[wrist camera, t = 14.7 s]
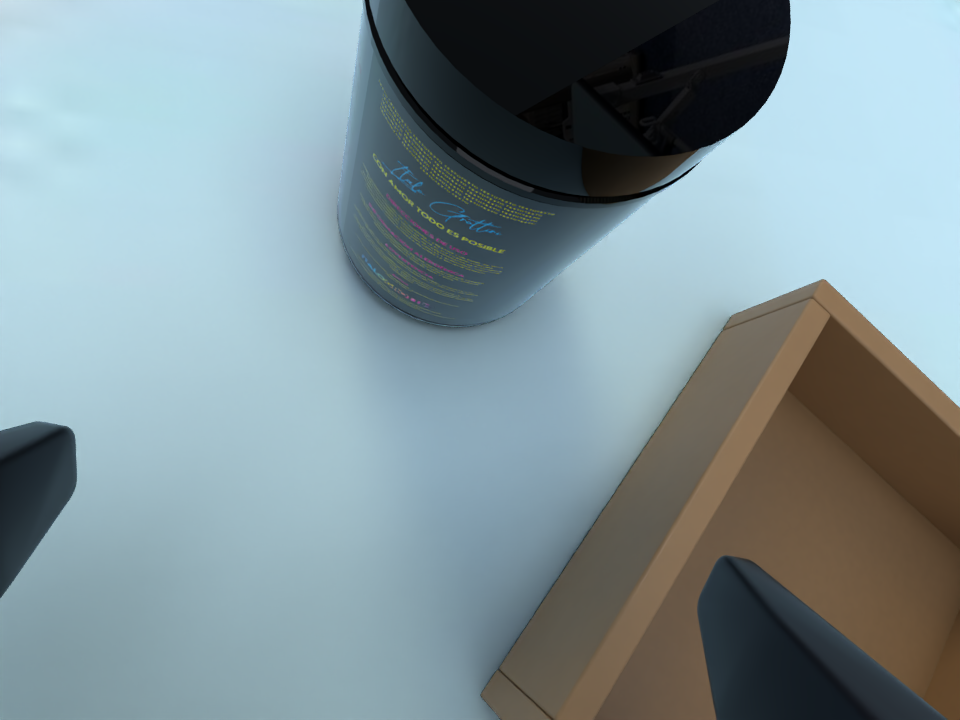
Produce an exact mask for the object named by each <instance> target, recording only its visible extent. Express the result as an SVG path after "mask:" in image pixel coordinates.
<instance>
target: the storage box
mask: <svg viewBox="0 0 960 720" xmlns="http://www.w3.org/2000/svg"><path fill="white" fill-rule="evenodd" d="M724 555H729V556H735V557H740V558H745V559H749V560H751V561H753V562H755V563H756V564H757V565H758V566H760V567H761V568H762V569H763V570H764V571H766V572H767V573H768V574H769V575H771V576H772V577H773V578H774V579H776V580H777V581H778V582H779V583H780V584H782V585H783V586H784V587H785V588H787V589H788V590H789V591H790V592H792V593H793V594H794V595H795V596H796V597H798V598H799V599H800V600H801V601H803V602H804V603H805V604H806V605H808V606H809V607H810V608H811V609H812V610H814V611H815V612H816V613H817V614H819V615H820V616H821V617H822V618H824V619H825V620H826V621H827V622H828V623H830V624H831V625H832V626H833V627H835V628H836V629H837V630H838V631H839V632H841V633H842V634H843V635H844V636H846V637H847V638H848V639H849V640H851V641H852V642H853V643H854V644H855V645H857V646H858V647H859V648H860V649H862V650H863V651H864V652H865V653H867V654H868V655H869V656H870V657H871V658H873V659H874V660H875V661H876V662H878V663H879V664H880V665H881V666H883V667H884V668H885V669H886V670H887V671H889V672H890V673H891V674H892V675H894V676H895V677H896V678H897V679H899V680H900V681H901V682H902V683H903V684H905V685H906V686H907V687H908V688H910V689H911V690H912V691H913V692H915V693H916V694H917V695H918V696H919V697H921V698H922V699H923V700H924V701H926V702H927V703H928V704H929V705H931V706H932V707H933V708H934V709H935V710H937V711H938V712H939V713H940V714H942V715H943V716H944V717H945V718H947V719H948V720H960V408H959V407H958V406H957V405H956V404H955V403H954V402H953V401H952V400H951V399H950V398H949V397H948V396H947V395H946V394H945V393H944V392H943V391H942V390H940V389H939V388H938V387H937V386H936V385H935V384H934V383H933V382H932V381H931V380H930V379H929V378H928V377H927V376H926V375H925V374H924V373H923V372H922V371H921V370H920V369H918V368H917V367H916V366H915V365H914V364H913V363H912V362H911V361H910V360H909V359H908V358H907V357H906V356H905V355H904V354H903V353H902V352H901V351H900V350H899V349H897V348H896V347H895V346H894V345H893V344H892V343H891V342H890V341H889V340H888V339H887V338H886V337H885V336H884V335H883V334H882V333H881V332H880V331H879V330H878V329H877V328H875V327H874V326H873V325H872V324H871V323H870V322H869V321H868V320H867V319H866V318H865V317H864V316H863V315H862V314H861V313H860V312H859V311H858V310H857V309H856V308H855V307H853V306H852V305H851V304H850V303H849V302H848V301H847V300H846V299H845V298H844V297H843V296H842V295H841V294H840V293H839V292H838V291H837V290H836V289H835V288H834V287H832V286H831V285H830V284H829V283H828V282H827V281H826V280H824V279H822V280H819V281H817V282H814V283H812V284H809V285H807V286H804V287H802V288H799V289H797V290H794V291H792V292H789V293H787V294H784V295H782V296H779V297H777V298H774V299H772V300H769V301H767V302H764V303H762V304H759V305H757V306H754V307H752V308H749V309H747V310H744V311H742V312H739V313H736V314H734V315H732V316H731V318H730V320H729V321H728V323H727V324H726V326H725V327H724V329H723V331H722V332H721V333H720V335H719V336H718V338H717V339H716V341H715V342H714V344H713V345H712V347H711V348H710V350H709V351H708V353H707V354H706V356H705V357H704V359H703V360H702V362H701V363H700V365H699V366H698V368H697V369H696V371H695V372H694V374H693V375H692V377H691V378H690V380H689V381H688V383H687V385H686V386H685V388H684V389H683V391H682V392H681V394H680V395H679V397H678V398H677V400H676V401H675V403H674V404H673V406H672V407H671V409H670V410H669V412H668V413H667V415H666V416H665V418H664V419H663V421H662V422H661V424H660V425H659V427H658V428H657V430H656V431H655V433H654V434H653V436H652V437H651V439H650V440H649V442H648V443H647V445H646V446H645V448H644V449H643V451H642V452H641V454H640V456H639V457H638V459H637V460H636V462H635V463H634V465H633V466H632V468H631V469H630V471H629V472H628V474H627V475H626V477H625V478H624V480H623V481H622V483H621V484H620V486H619V487H618V489H617V490H616V492H615V493H614V495H613V496H612V498H611V499H610V501H609V502H608V504H607V505H606V507H605V508H604V510H603V511H602V513H601V514H600V516H599V517H598V519H597V520H596V522H595V523H594V525H593V527H592V528H591V530H590V531H589V533H588V534H587V536H586V537H585V539H584V540H583V542H582V543H581V545H580V546H579V548H578V549H577V551H576V552H575V554H574V555H573V557H572V558H571V560H570V561H569V563H568V564H567V566H566V567H565V569H564V570H563V572H562V573H561V575H560V576H559V578H558V579H557V581H556V582H555V584H554V585H553V587H552V588H551V590H550V591H549V593H548V594H547V596H546V598H545V599H544V601H543V602H542V604H541V605H540V607H539V608H538V610H537V611H536V613H535V614H534V616H533V617H532V619H531V620H530V622H529V623H528V625H527V626H526V628H525V629H524V631H523V632H522V634H521V635H520V637H519V638H518V640H517V641H516V643H515V644H514V646H513V647H512V649H511V650H510V652H509V653H508V655H507V656H506V658H505V659H504V661H503V662H502V664H501V666H500V668H499V670H500V671H499V670H497V671H496V672H495V673H494V675H493V676H492V678H491V679H490V681H489V683H488V684H487V686H486V687H485V689H484V690H483V692H482V693H481V697H482V698H483V700H484V701H485V702H486V703H487V704H488V705H489V707H490V708H491V709H492V710H493V711H494V712H495V714H496V715H497V716H498V717H499V718H500V719H501V720H717V719H716V714H715V709H714V705H713V699H712V694H711V688H710V682H709V677H708V671H707V665H706V660H705V654H704V648H703V643H702V637H701V631H700V626H699V620H698V613H697V605H698V600H699V596H700V594H701V592H702V590H703V588H704V586H705V583H706V581H707V579H708V577H709V575H710V573H711V571H712V569H713V567H714V565H715V563H716V561H717V560H718V559H719V558H720V557H721V556H724Z"/></svg>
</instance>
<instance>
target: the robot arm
mask: <svg viewBox="0 0 960 720" xmlns="http://www.w3.org/2000/svg"><path fill="white" fill-rule="evenodd" d="M76 482H77V466H76V444H75V435H74V433H73V431H72V430H71V429H70V428H69V427H67V426H62V425H57V424H52V423H47V422H32V423H28V424H24V425H21V426H17V427H13V428H10V429H6V430H2V431H0V598H1V597H2V596H3V594H4V593H5V591H6V590H7V589H8V587H9V586H10V585H11V583H12V582H13V581H14V579H15V578H16V576H17V575H18V573H19V572H20V570H21V569H22V568H23V566H24V565H25V563H26V562H27V560H28V559H29V557H30V556H31V555H32V553H33V552H34V550H35V549H36V547H37V546H38V544H39V543H40V541H41V540H42V539H43V537H44V536H45V534H46V533H47V531H48V530H49V528H50V527H51V526H52V524H53V523H54V521H55V520H56V518H57V517H58V515H59V514H60V512H61V511H62V510H63V508H64V507H65V505H66V504H67V502H68V501H69V499H70V498H71V496H72V494H73V492H74V490H75V487H76ZM697 613H698V620H699V626H700V631H701V637H702V643H703V648H704V654H705V660H706V665H707V671H708V677H709V682H710V688H711V694H712V699H713V705H714V709H715V714H716V719H717V720H948V719H947V718H945V717H944V716H943V715H942V714H940V713H939V712H938V711H937V710H935V709H934V708H933V707H932V706H931V705H929V704H928V703H927V702H926V701H924V700H923V699H922V698H921V697H919V696H918V695H917V694H916V693H915V692H913V691H912V690H911V689H910V688H908V687H907V686H906V685H905V684H903V683H902V682H901V681H900V680H899V679H897V678H896V677H895V676H894V675H892V674H891V673H890V672H889V671H887V670H886V669H885V668H884V667H883V666H881V665H880V664H879V663H878V662H876V661H875V660H874V659H873V658H871V657H870V656H869V655H868V654H867V653H865V652H864V651H863V650H862V649H860V648H859V647H858V646H857V645H855V644H854V643H853V642H852V641H851V640H849V639H848V638H847V637H846V636H844V635H843V634H842V633H841V632H839V631H838V630H837V629H836V628H835V627H833V626H832V625H831V624H830V623H828V622H827V621H826V620H825V619H824V618H822V617H821V616H820V615H819V614H817V613H816V612H815V611H814V610H812V609H811V608H810V607H809V606H808V605H806V604H805V603H804V602H803V601H801V600H800V599H799V598H798V597H796V596H795V595H794V594H793V593H792V592H790V591H789V590H788V589H787V588H785V587H784V586H783V585H782V584H780V583H779V582H778V581H777V580H776V579H774V578H773V577H772V576H771V575H769V574H768V573H767V572H766V571H764V570H763V569H762V568H761V567H760V566H758V565H757V564H756V563H755V562H753V561H751V560H749V559H745V558H740V557H735V556H729V555H724V556H721V557H720V558H719V559H718V560H717V561H716V563H715V565H714V567H713V569H712V571H711V573H710V575H709V577H708V579H707V581H706V583H705V586H704V588H703V590H702V592H701V594H700V596H699V600H698V605H697Z"/></svg>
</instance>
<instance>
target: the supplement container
mask: <svg viewBox="0 0 960 720" xmlns="http://www.w3.org/2000/svg"><path fill="white" fill-rule="evenodd" d="M790 24H791V19H790V1H789V0H363V9H362V16H361V24H360V32H359V40H358V47H357V55H356V63H355V71H354V78H353V86H352V94H351V102H350V109H349V117H348V125H347V132H346V140H345V148H344V156H343V163H342V171H341V179H340V187H339V194H338V204H337V218H338V226H339V231H340V236H341V240H342V243H343V246H344V248H345V251H346V253H347V255H348V257H349V260H350V262H351V263H352V265H353V267H354V268H355V270H356V272H357V273H358V274H359V276H360V277H361V278H362V280H363V281H364V282H365V283H366V285H367V286H368V287H369V288H370V289H371V290H372V291H373V292H374V293H375V294H376V295H378V296H379V297H380V298H381V299H382V300H383V301H385V302H386V303H388V304H389V305H390V306H392V307H393V308H395V309H397V310H398V311H400V312H402V313H404V314H406V315H408V316H410V317H412V318H415V319H417V320H420V321H423V322H426V323H431V324H435V325H440V326H448V327H468V326H476V325H481V324H485V323H489V322H492V321H495V320H497V319H499V318H502V317H504V316H506V315H508V314H509V313H511V312H513V311H514V310H516V309H517V308H518V307H520V306H521V305H522V304H523V303H525V302H526V301H527V300H528V299H530V298H531V297H532V296H533V295H534V294H536V293H537V292H538V291H539V290H541V289H542V288H543V287H544V286H545V285H547V284H548V283H549V282H550V281H552V280H553V279H554V278H555V277H556V276H558V275H559V274H560V273H561V272H563V271H564V270H565V269H566V268H567V267H569V266H570V265H571V264H572V263H573V262H575V261H576V260H577V259H578V258H580V257H581V256H582V255H583V254H584V253H586V252H587V251H588V250H589V249H591V248H592V247H593V246H594V245H595V244H597V243H598V242H599V241H600V240H602V239H603V238H604V237H605V236H606V235H608V234H609V233H610V232H611V231H613V230H614V229H615V228H616V227H617V226H619V225H620V224H621V223H622V222H623V221H625V220H626V219H627V218H628V217H630V216H631V215H632V214H633V213H634V212H636V211H637V210H638V209H639V208H641V207H642V206H643V205H644V204H645V203H647V202H648V201H649V200H650V199H652V198H653V197H654V196H655V195H656V194H658V193H660V192H662V191H664V190H666V189H667V188H669V187H670V186H672V185H673V184H675V183H676V182H678V181H679V180H680V179H682V178H683V177H684V176H685V175H687V174H688V173H689V172H690V171H691V170H692V169H693V168H694V167H695V166H696V165H698V164H699V162H700V161H701V160H702V159H703V158H705V157H706V156H707V155H708V154H709V153H711V152H712V151H713V150H714V149H716V148H717V147H718V146H719V145H721V144H722V143H723V142H724V141H725V140H727V139H728V138H729V137H730V136H732V135H733V134H734V133H735V132H737V131H738V130H739V129H740V128H741V127H743V126H744V125H745V124H746V123H747V122H748V121H749V120H750V119H751V118H752V117H754V116H755V115H756V113H757V112H758V111H759V110H760V109H761V107H762V106H763V105H764V104H765V103H766V101H767V99H768V98H769V96H770V95H771V93H772V91H773V90H774V88H775V86H776V84H777V81H778V79H779V77H780V75H781V72H782V69H783V66H784V63H785V60H786V56H787V50H788V45H789V38H790Z"/></svg>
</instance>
